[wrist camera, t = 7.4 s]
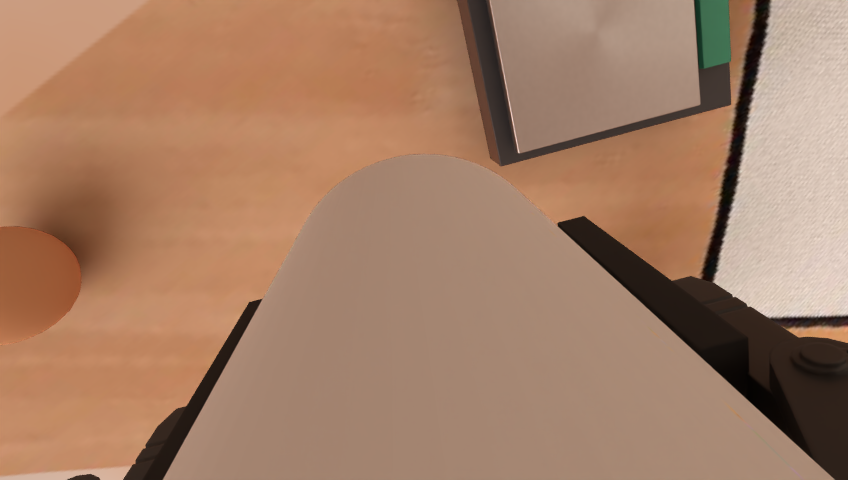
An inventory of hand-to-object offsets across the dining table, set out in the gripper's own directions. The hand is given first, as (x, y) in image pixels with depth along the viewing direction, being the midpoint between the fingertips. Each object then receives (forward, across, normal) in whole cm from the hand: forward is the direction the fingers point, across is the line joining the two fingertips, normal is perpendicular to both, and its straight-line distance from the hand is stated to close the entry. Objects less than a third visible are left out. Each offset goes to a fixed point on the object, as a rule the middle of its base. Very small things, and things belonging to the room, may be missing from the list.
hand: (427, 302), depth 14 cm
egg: (+19, -23, 0) cm, 30 cm away
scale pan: (+16, +12, +6) cm, 20 cm away
